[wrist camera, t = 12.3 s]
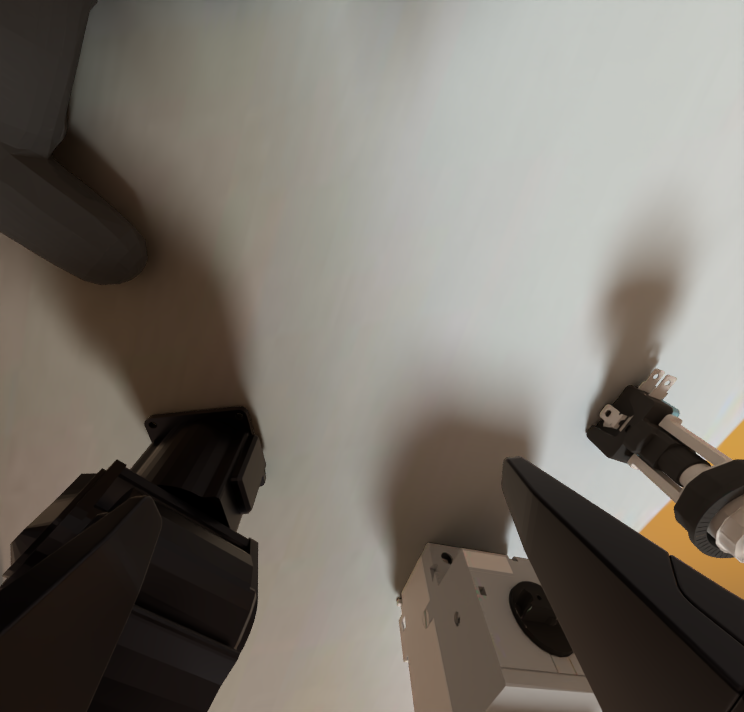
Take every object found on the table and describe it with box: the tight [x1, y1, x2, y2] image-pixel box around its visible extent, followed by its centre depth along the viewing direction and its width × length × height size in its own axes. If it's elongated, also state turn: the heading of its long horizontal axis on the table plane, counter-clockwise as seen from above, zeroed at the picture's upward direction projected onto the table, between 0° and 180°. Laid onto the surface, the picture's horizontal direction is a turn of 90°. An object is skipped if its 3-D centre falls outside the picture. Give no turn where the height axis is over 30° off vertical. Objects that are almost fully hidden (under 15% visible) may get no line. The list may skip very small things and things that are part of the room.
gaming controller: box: [0, 0, 148, 285], centre depth 13 cm, size 17×6×10 cm
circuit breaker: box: [397, 543, 602, 712], centre depth 23 cm, size 8×14×15 cm, turn 163°
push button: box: [587, 368, 744, 563], centre depth 20 cm, size 7×5×10 cm
